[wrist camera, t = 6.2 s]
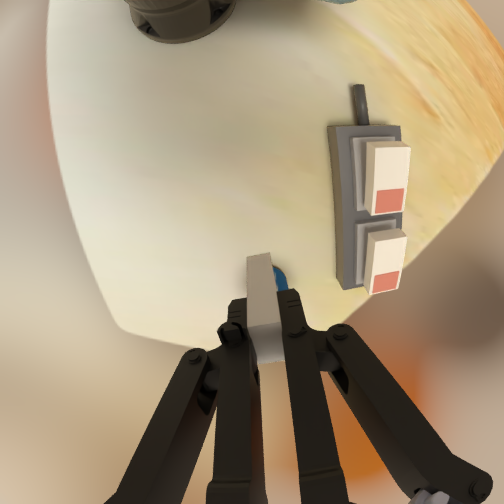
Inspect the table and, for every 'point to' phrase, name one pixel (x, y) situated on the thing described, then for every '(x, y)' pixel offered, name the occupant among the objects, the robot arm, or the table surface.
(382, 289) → the rocker
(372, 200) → the rocker
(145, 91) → the table surface
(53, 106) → the table surface
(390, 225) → the power strip
